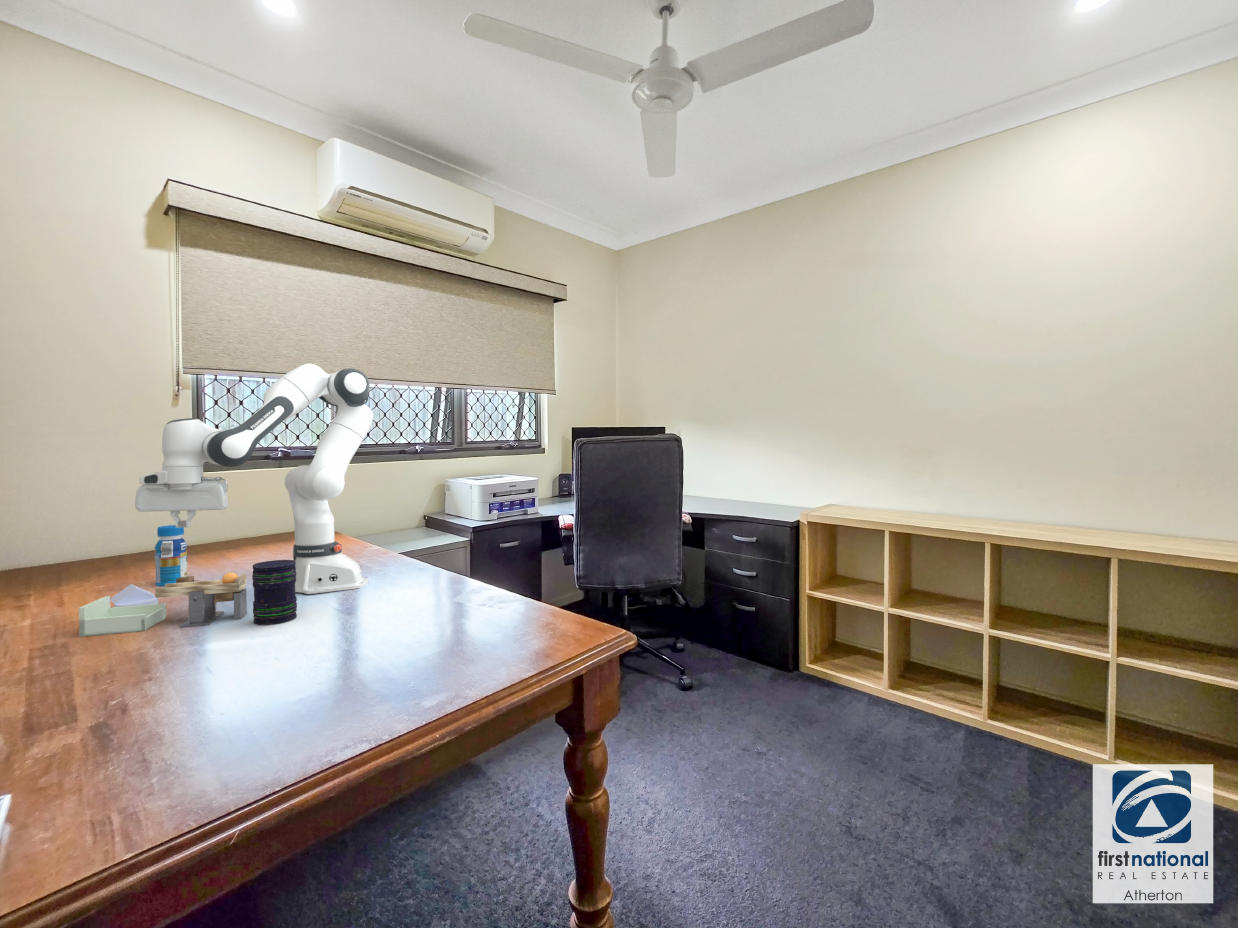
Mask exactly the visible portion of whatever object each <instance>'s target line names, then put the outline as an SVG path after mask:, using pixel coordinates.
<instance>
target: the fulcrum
mask: <svg viewBox="0 0 1238 928" xmlns="http://www.w3.org/2000/svg"><path fill="white" fill-rule="evenodd" d="M247 595H248V594H247V588H246V587H245V588H243V589H242V590H240V591H239V592H235V593H234V600H233V620H234V621H235V620H241V619H243V618H244V617H245V616H246V615H247V614H248V610H247V609H248V607H247V606H248V605H247V604H248V603H247V601H248V600H247ZM187 596H188V619H187V620H186V621H184V622H182V624H180V625H179V626H180V628H181V629H182V628H191V627H201V626H203V627H204V626H210V625H211V624H212V623H213V622H214V621H216V620H217V619H219V618H220V617H222V615H224V614H225V610H220V611H219V610H218V611H217V602H215V599H214V593H213V594H204V590H202V591H190V592H188V595H187Z"/></svg>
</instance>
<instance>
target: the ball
mask: <svg viewBox="0 0 1238 928" xmlns="http://www.w3.org/2000/svg"><path fill="white" fill-rule="evenodd" d="M237 577H239V575H238V574H236V573H235V572H227V573H225V574H224V575H223V576H222V578H221V580H222V583H223V584H228V583H235V579H236V578H237Z"/></svg>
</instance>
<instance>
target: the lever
mask: <svg viewBox="0 0 1238 928" xmlns="http://www.w3.org/2000/svg"><path fill="white" fill-rule="evenodd" d="M246 587H247V574H246V573H244V574H243V573H242V574H240V575H238V577H237V578H236V579H235V583H228V584H223V583H222V579H215V580H201V581H199V579H198V580H197V579H195V576H194V575H191V576H189V575H188V576H187V577H180V578H178V579H176V583H170V584H165V586H164V587H160V588H159V587H158V588H155V589H154V593H155V594H154V595H155V598H158V599H159V598H170V597H171V598H172V597H183V596H184V597H185V596H188V592H190V591H202V590H204V594H213V593H214V599H215V602H216V603H222V602H223V603H225V602H234V593H235V592H239V591H240V590H242V589H245V588H246Z"/></svg>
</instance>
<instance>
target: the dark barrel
mask: <svg viewBox="0 0 1238 928" xmlns="http://www.w3.org/2000/svg"><path fill="white" fill-rule="evenodd" d="M295 565H296V561H294V560H293V559H274V560H268V561H261V562H257V563H254V564H252V576H251V578H252V588H253V599H254V600H253V602H252V607H253V608H252V614H253V624H254V625H255V626H274V625H279V624H285V623H289V622H291V621H293V620H296V619H297V617H298V616H297V611H298V610H297V608H298V602H297V600H298V598H297V596H296V592H295V583H296V566H295Z"/></svg>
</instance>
